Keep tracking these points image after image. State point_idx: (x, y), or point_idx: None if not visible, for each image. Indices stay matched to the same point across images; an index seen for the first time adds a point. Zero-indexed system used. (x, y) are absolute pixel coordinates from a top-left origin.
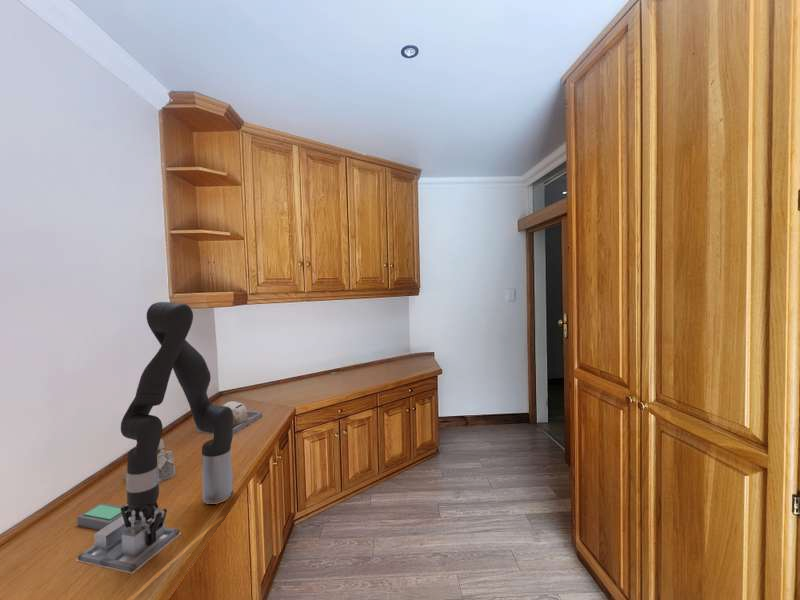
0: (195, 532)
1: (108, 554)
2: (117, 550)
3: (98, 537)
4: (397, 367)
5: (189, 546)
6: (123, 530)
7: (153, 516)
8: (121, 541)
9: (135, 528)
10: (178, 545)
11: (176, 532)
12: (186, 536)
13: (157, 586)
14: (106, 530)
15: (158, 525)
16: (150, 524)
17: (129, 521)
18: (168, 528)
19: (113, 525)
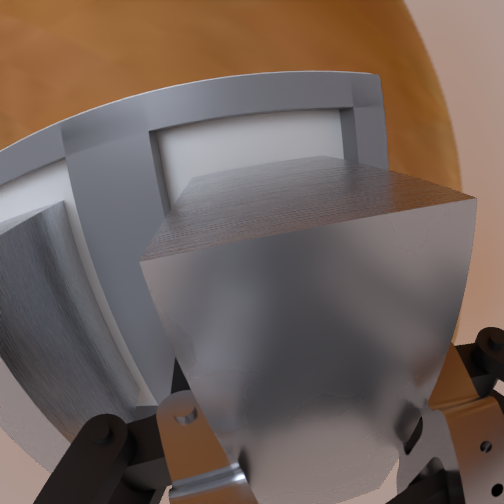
0: (396, 30)
1: (136, 387)
2: (165, 385)
3: None
4: None
5: (451, 142)
6: (67, 379)
7: (472, 454)
8: (98, 343)
9: (307, 491)
10: (403, 149)
11: (379, 102)
12: (381, 68)
13: (452, 341)
14: (57, 461)
15: (497, 379)
16: (418, 420)
17: (122, 483)
18: (279, 82)
19: (22, 430)
